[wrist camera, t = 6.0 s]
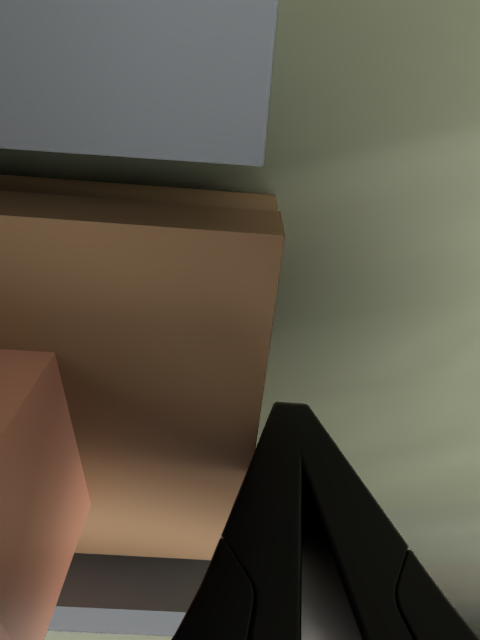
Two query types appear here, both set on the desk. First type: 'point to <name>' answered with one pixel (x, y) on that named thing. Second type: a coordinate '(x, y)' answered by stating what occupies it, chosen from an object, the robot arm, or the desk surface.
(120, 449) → the pallet
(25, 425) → the salmon pink block
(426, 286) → the desk surface
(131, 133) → the dock
